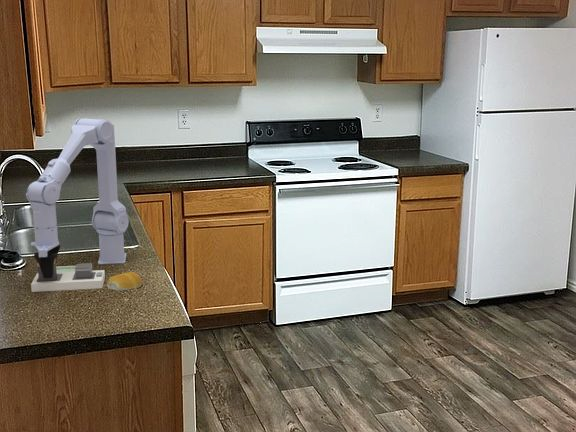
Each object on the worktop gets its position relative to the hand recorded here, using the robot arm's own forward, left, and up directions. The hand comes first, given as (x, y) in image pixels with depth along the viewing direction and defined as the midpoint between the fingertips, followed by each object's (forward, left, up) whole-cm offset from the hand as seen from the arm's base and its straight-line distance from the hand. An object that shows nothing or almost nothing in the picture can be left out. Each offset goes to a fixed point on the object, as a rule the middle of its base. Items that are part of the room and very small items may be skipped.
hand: (49, 275), depth 178 cm
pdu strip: (0, +5, -3) cm, 6 cm away
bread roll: (+3, +20, -4) cm, 20 cm away
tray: (-10, +3, -3) cm, 11 cm away
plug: (0, 0, -2) cm, 2 cm away
